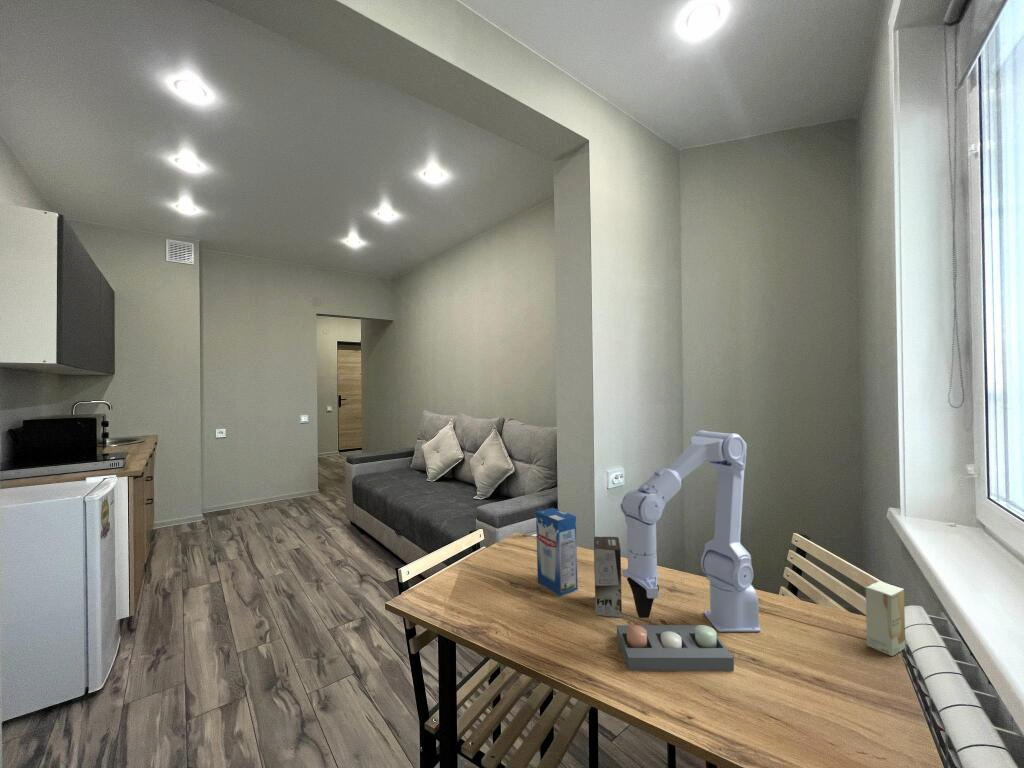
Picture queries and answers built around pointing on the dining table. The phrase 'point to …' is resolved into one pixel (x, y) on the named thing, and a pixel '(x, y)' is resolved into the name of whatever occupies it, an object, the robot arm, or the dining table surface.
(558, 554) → the milk carton
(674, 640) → the white rounded piece
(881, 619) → the skincare box
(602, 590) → the coffee box
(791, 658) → the dining table surface
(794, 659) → the dining table surface
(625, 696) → the dining table surface
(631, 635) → the terracotta button
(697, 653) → the button panel
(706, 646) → the pale green egg
